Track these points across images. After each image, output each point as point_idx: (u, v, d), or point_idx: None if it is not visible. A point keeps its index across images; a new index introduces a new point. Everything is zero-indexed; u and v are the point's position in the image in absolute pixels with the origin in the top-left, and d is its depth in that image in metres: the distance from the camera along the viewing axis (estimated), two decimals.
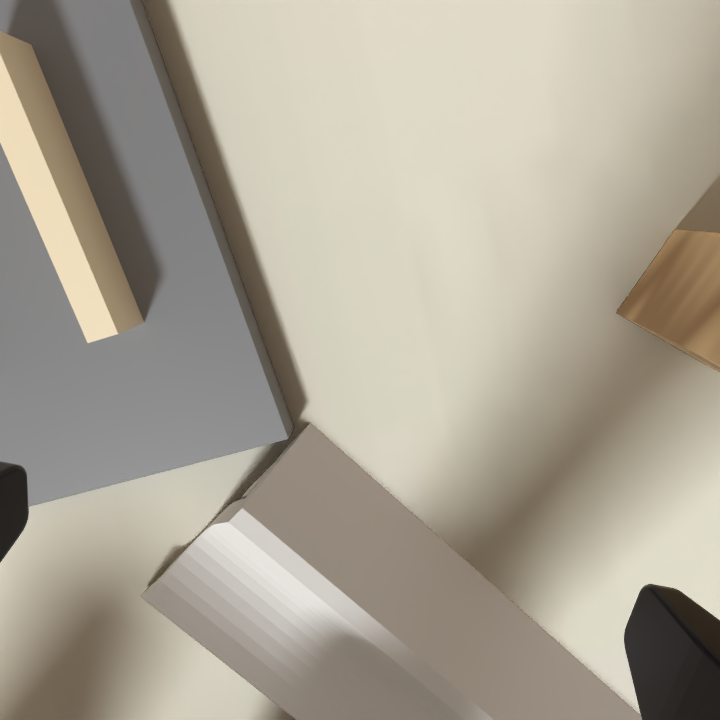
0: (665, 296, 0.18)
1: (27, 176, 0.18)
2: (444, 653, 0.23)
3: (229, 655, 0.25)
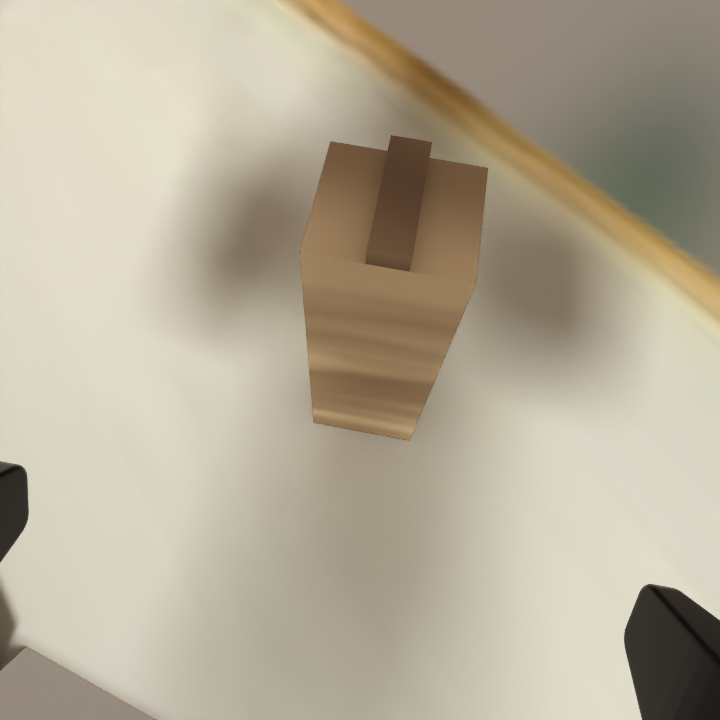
0: None
1: None
2: None
3: None
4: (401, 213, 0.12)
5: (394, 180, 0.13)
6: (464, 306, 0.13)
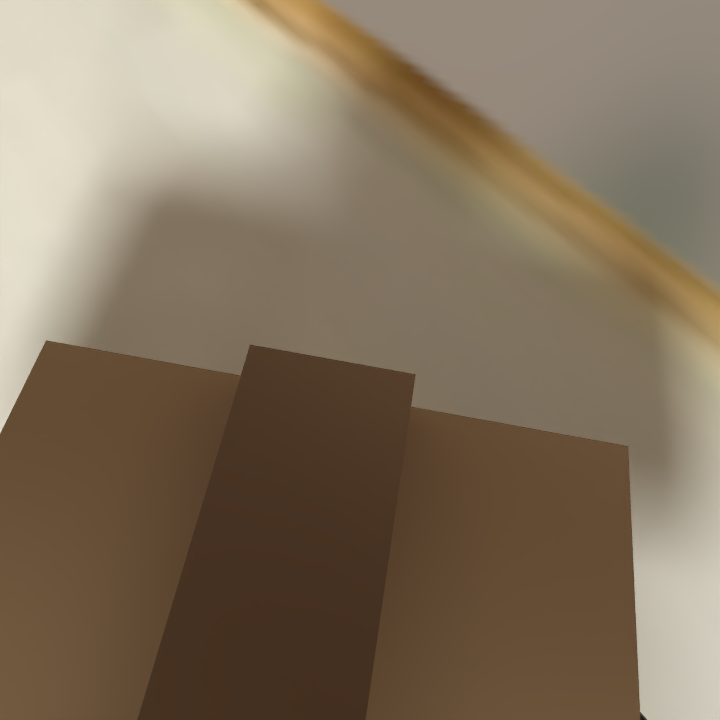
0: None
1: None
2: None
3: None
4: None
5: (235, 611, 0.03)
6: None
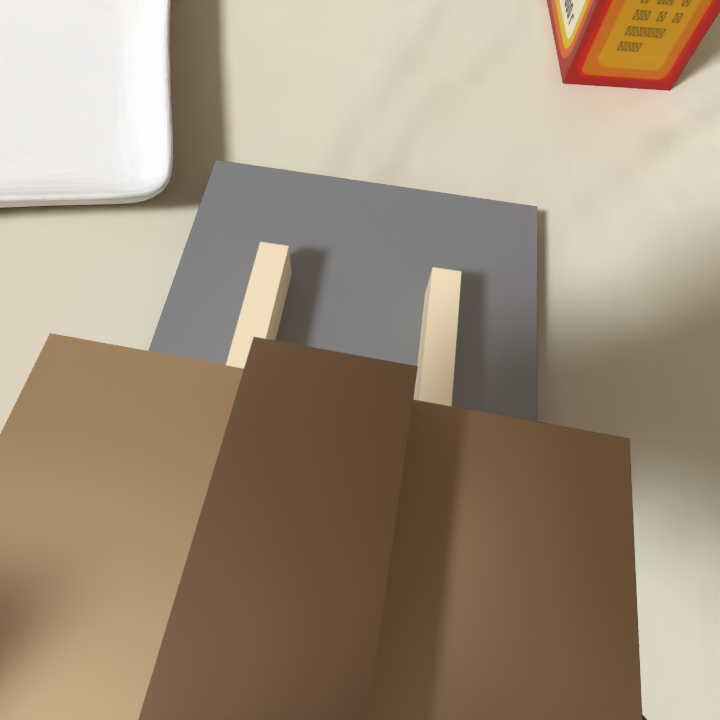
0: None
1: (433, 361, 0.21)
2: None
3: None
4: None
5: (240, 599, 0.03)
6: None
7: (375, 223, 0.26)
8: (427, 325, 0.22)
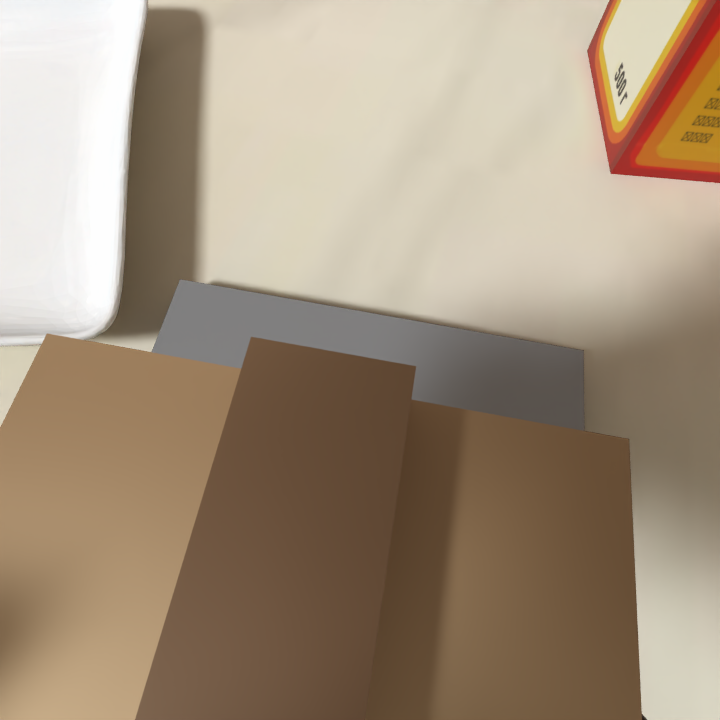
0: None
1: None
2: None
3: None
4: None
5: (235, 600, 0.03)
6: None
7: None
8: None
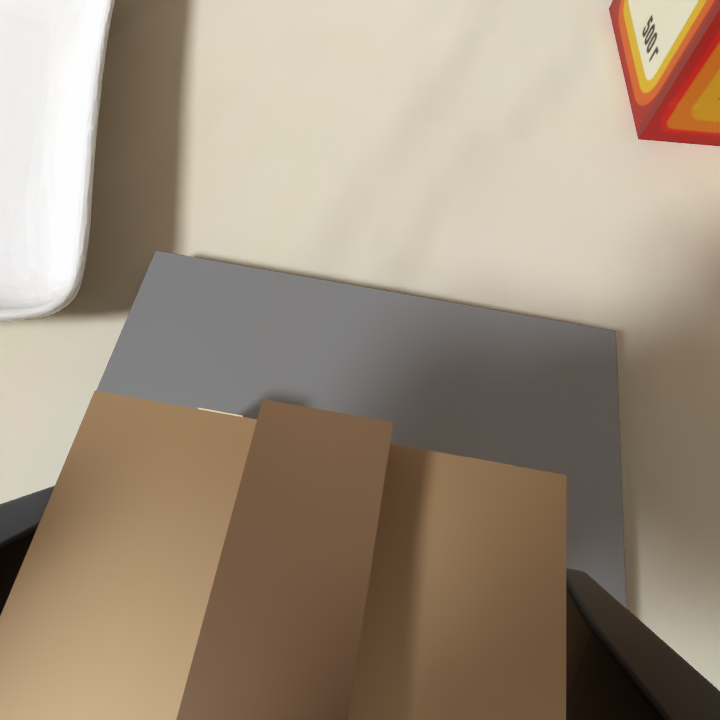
0: None
1: None
2: None
3: None
4: None
5: (253, 608, 0.04)
6: None
7: (380, 355, 0.18)
8: None
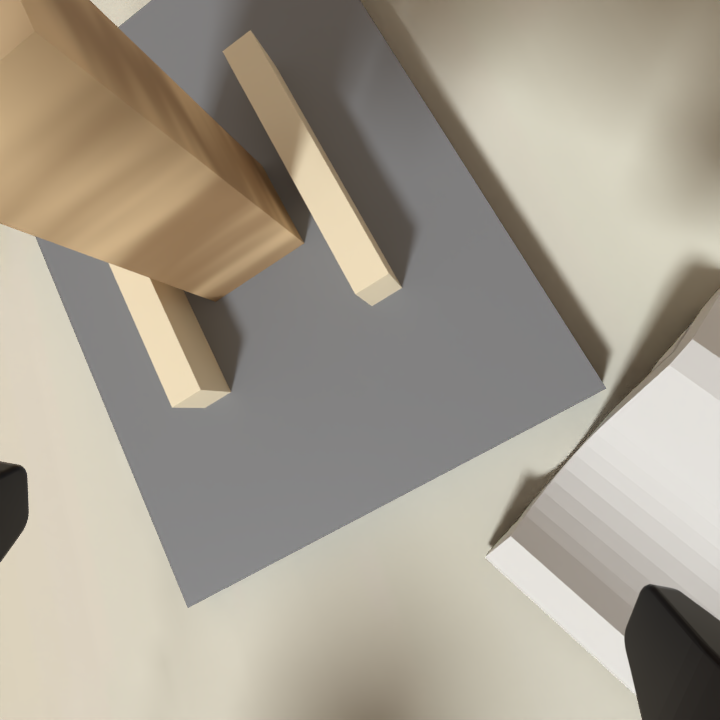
0: None
1: (286, 142, 0.18)
2: None
3: None
4: None
5: None
6: (80, 70, 0.10)
7: (159, 58, 0.22)
8: (257, 112, 0.19)
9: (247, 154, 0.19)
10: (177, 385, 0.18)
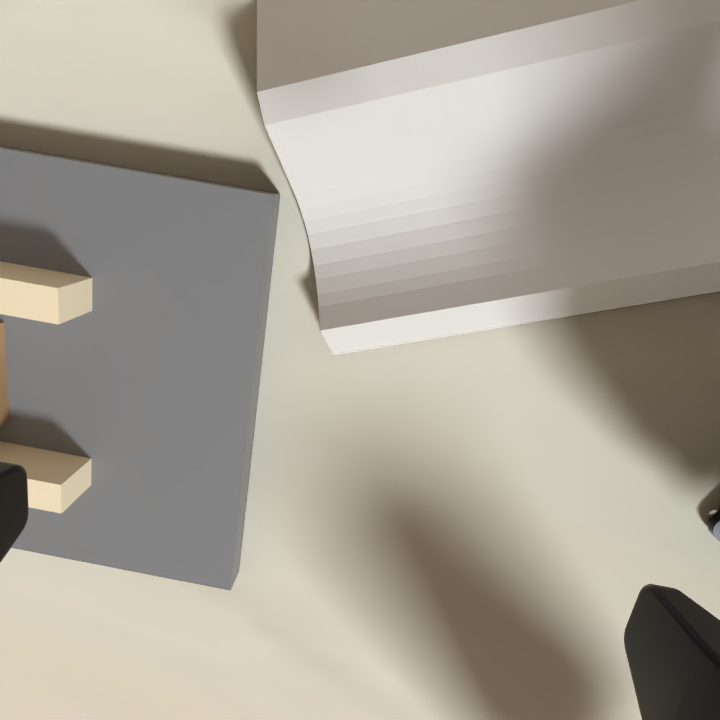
0: None
1: None
2: None
3: (452, 298, 0.18)
4: None
5: None
6: None
7: None
8: None
9: None
10: (46, 498, 0.20)
